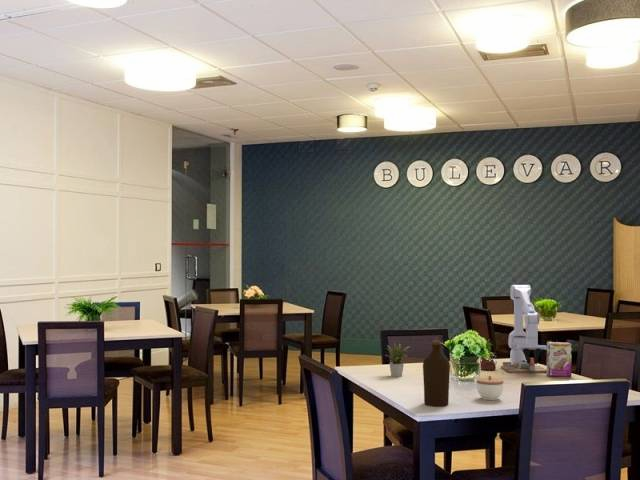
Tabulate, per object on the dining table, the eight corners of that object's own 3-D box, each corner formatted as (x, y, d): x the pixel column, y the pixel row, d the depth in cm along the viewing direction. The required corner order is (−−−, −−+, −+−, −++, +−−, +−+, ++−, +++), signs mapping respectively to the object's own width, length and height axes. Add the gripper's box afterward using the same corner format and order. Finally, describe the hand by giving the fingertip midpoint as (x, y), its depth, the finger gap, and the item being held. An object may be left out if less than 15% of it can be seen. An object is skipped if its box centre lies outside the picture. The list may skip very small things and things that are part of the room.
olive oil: (442, 408, 271) (442, 342, 272) (417, 404, 277) (418, 340, 278) (454, 403, 280) (454, 340, 280) (430, 400, 286) (430, 338, 287)
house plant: (414, 378, 336) (414, 344, 337) (385, 378, 336) (385, 344, 337) (410, 374, 351) (410, 341, 351) (382, 373, 350) (382, 340, 351)
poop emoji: (477, 368, 372) (477, 350, 372) (493, 368, 372) (493, 350, 372) (481, 371, 362) (481, 352, 362) (498, 371, 362) (498, 352, 362)
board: (500, 368, 371) (500, 361, 371) (539, 368, 371) (539, 361, 371) (508, 372, 356) (508, 365, 356) (549, 373, 356) (549, 366, 356)
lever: (516, 365, 370) (516, 354, 371) (525, 365, 371) (525, 354, 371) (526, 370, 354) (526, 358, 354) (535, 370, 354) (535, 358, 354)
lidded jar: (473, 396, 295) (473, 373, 295) (498, 396, 296) (498, 373, 296) (480, 401, 284) (480, 378, 284) (507, 401, 285) (506, 378, 285)
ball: (512, 367, 366) (512, 361, 366) (518, 367, 366) (518, 361, 366) (513, 368, 363) (513, 362, 363) (519, 368, 363) (519, 362, 363)
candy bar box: (548, 376, 346) (548, 343, 346) (546, 374, 351) (546, 341, 351) (572, 377, 345) (572, 343, 345) (569, 375, 350) (569, 342, 350)
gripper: (519, 337, 352) (519, 364, 351) (548, 337, 352) (548, 365, 352) (515, 336, 359) (515, 362, 359) (544, 336, 359) (544, 363, 359)
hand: (531, 363), depth 356 cm, fingers open, 3 cm apart
